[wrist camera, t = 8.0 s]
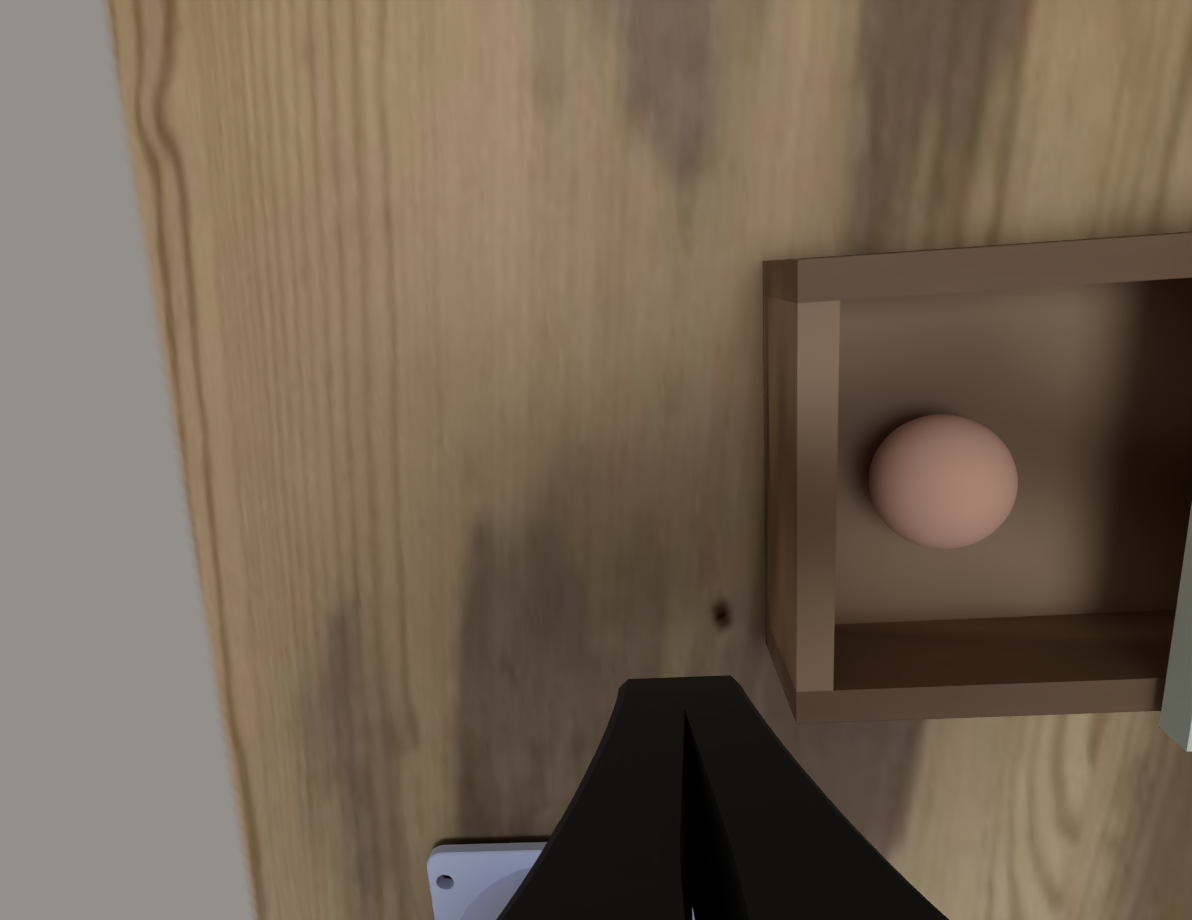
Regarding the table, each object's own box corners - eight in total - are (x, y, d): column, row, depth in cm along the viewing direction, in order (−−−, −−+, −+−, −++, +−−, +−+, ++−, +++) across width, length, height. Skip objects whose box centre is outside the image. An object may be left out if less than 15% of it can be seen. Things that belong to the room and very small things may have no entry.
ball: (974, 519, 18) (1040, 567, 15) (850, 525, 18) (893, 574, 15) (981, 399, 17) (1053, 426, 14) (853, 406, 18) (898, 434, 15)
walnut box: (1228, 624, 19) (1361, 703, 16) (766, 643, 20) (795, 723, 16) (1295, 224, 17) (1472, 213, 13) (763, 261, 17) (797, 259, 14)
